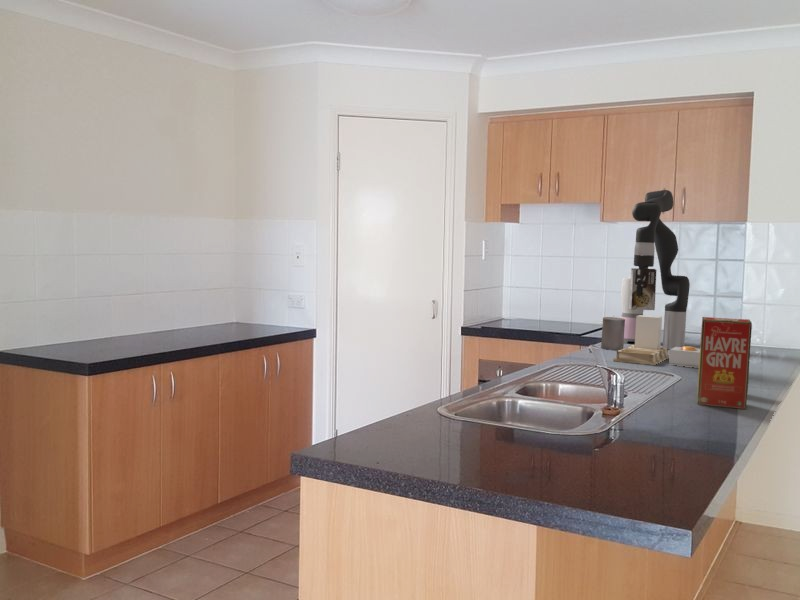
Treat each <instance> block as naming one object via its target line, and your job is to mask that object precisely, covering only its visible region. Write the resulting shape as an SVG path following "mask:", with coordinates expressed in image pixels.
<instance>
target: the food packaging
mask: <svg viewBox="0 0 800 600" xmlns="http://www.w3.org/2000/svg"><path fill="white" fill-rule="evenodd" d="M700 329H701V330H700V331H701V333H700V346H699V347H700V348H699V349H700V357H699V368H698V372H697V385H696V386H697V387H696V389H697V390H696V391H697V393H696V400H697V405H698V406H706V407H707V406H710V407H715V408H727V409H739V410H747V400H748V392H749V376H750V374H749V373H750V359H751V356H750V355H751V344H752V343H751V341H752V329H753V323H752V321H751V319H747V318H742V319H741V318H724V317H723V318H722V317H713V316H712V317H710V316H707V317H706V316H703V317H702V320H701V328H700Z"/></svg>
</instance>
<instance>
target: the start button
mask: <svg viewBox="0 0 800 600" xmlns="http://www.w3.org/2000/svg"><path fill="white" fill-rule="evenodd" d="M696 349H697V347H695V346H688V345H684V346H683V349H682V350H688V351H696Z"/></svg>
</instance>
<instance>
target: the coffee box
mask: <svg viewBox="0 0 800 600" xmlns="http://www.w3.org/2000/svg"><path fill="white" fill-rule="evenodd" d="M636 269H638V268H636V267H635V268H631V269H630V275H631V286H630V307H629V308H630V309H632V310H644V311H655V310H656V289H657V288H656V287H657V285H656V284H657V269H656V268H648V269H644V276H646V278H645V279H646V280H645V282H644V284H643V293H642V296H636V290H637V286H636V285H635V275H636ZM638 276H640V275H638ZM644 276H643V277H642V279H643V278H644ZM638 279H639V278H638ZM638 282H640V281H638Z"/></svg>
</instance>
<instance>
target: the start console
mask: <svg viewBox="0 0 800 600" xmlns="http://www.w3.org/2000/svg"><path fill="white" fill-rule="evenodd" d="M682 349H683V347H674V348H672V349H669V354H668V355H669V359H668V366H673V365H677V366H676V367H683V366H685V367H686V368H692V367H694V368H695V369H699V357H700V348H696V351H688V350H682ZM685 367H684V368H685Z"/></svg>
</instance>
